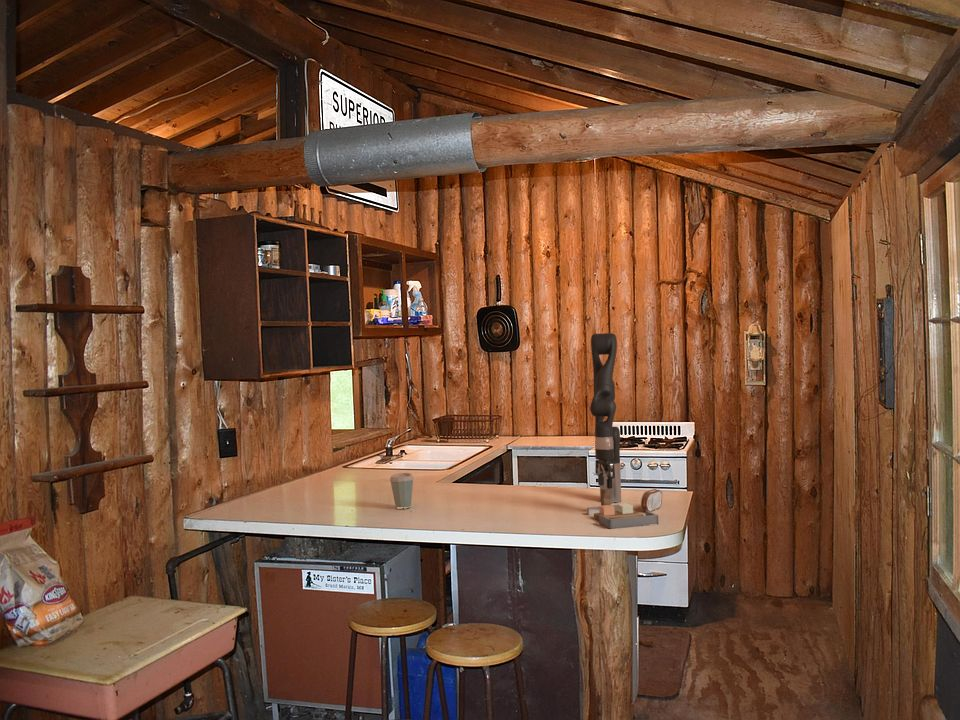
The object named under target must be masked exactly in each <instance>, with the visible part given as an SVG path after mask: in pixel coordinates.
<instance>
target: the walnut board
mask: <svg viewBox="0 0 960 720" xmlns="http://www.w3.org/2000/svg"><path fill="white" fill-rule="evenodd" d="M600 515H602V514H600V513H594V515H593V519H594V518H595V519H594V520H597V521H598V522H600ZM603 516H604V515H603ZM639 516H645V515H644V514H642V513H640V512H638V511H636V510H634V509H633V513H627V514H622V513H620V512H618V511H615V515H605V517H607V518H609V519H617V518H628V517H639Z"/></svg>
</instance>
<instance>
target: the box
mask: <svg viewBox="0 0 960 720" xmlns="http://www.w3.org/2000/svg"><path fill="white" fill-rule="evenodd" d="M650 524H657V525H659V515H658V514H656V513H654V512H653V511H651V512H649V511H645V515H644V516H639V517H628V518H617V519H609V518H607V517H605V516H603V515H600V521H599V525H601V526H604V528H606V529H609V530H612V529H613V530H615V529H622V528H635V527H634V526H636V527H643V526H642V525H646V526H651V525H650Z"/></svg>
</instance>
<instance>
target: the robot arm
mask: <svg viewBox="0 0 960 720" xmlns="http://www.w3.org/2000/svg"><path fill="white" fill-rule="evenodd" d="M617 349H618V340H617V335H616V333H612V332H610V333H609V332H607V333H603V332H602V333H593V334H592V335H591V337H590V351H591V359H592V371H593V373H592V375H593V376H592V377H593V397H592V399H591V402H590V407H589V411H590V413H591V415H592V416H594V418H595V419H594V420H595V421H594V422H595V423H594V424H595V425H594V427H595V428H594V451H595V452H594V453H595V454H594V455H595V456H594V457H595V471H594V472H595V475H597V479H598V480H597V481H598V486H599V495H600V496H599V500H600V501H599V502H601V489H609V490H610V495H611V504H615V503H614V502H616V503H620V502H622V483H621V482H622V481H621V480H622V478H621V477H622V476H621V456H620V455H621V451H620V450H621V446H620V445H621V431H620V428H619V427H618V426H613V424H614V418H615V414H616V410H617V403H616V402H615V399H616V385H615V382H614V379H613V378H614V377H613V376H614V370H615V365H616V357H617V352H618V351H617ZM600 355H601V356H602V355H603V356H604V355H605V356H606V355H608V356H607V359H606V360H605V362H604V364H603V362H602V360H601V357H600ZM605 418H607V419H605ZM604 419H605V420H604Z"/></svg>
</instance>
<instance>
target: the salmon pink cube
mask: <svg viewBox="0 0 960 720" xmlns="http://www.w3.org/2000/svg"><path fill="white" fill-rule="evenodd" d="M611 505H612V504H611ZM611 505H604V506H601V505H599V506H598V507H599V512H600V514H602V515H604V516H605V515H615V511H614V507H613V506H611Z"/></svg>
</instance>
